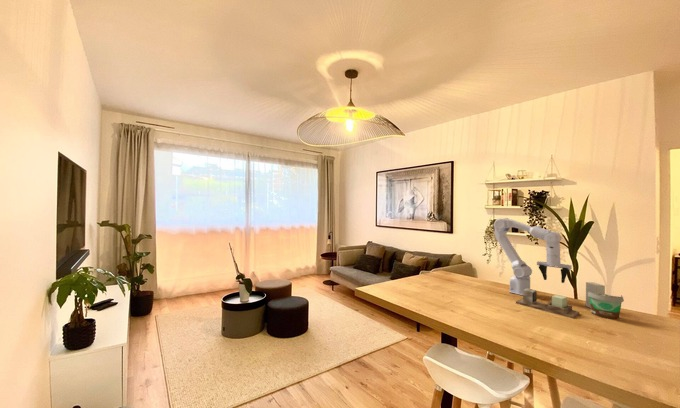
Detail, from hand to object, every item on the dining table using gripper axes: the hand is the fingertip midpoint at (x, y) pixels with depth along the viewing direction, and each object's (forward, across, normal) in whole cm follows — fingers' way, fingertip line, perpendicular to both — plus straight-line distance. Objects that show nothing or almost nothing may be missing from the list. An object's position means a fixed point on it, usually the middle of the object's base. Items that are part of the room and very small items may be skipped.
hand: (553, 281), depth 145 cm
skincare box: (+11, -15, -4) cm, 19 cm away
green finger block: (+10, -6, +16) cm, 20 cm away
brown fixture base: (+10, -1, +16) cm, 19 cm away
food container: (+11, -21, +6) cm, 25 cm away
